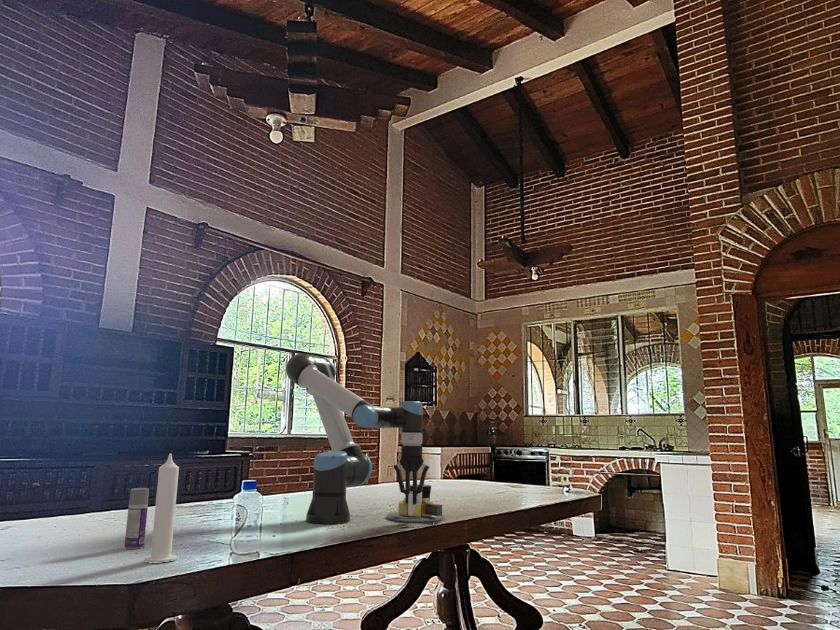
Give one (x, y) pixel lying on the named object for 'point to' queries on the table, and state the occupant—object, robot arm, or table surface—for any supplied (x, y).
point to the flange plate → (414, 519)
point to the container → (136, 518)
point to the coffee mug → (423, 491)
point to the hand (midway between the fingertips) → (410, 514)
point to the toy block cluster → (421, 508)
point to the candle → (164, 513)
